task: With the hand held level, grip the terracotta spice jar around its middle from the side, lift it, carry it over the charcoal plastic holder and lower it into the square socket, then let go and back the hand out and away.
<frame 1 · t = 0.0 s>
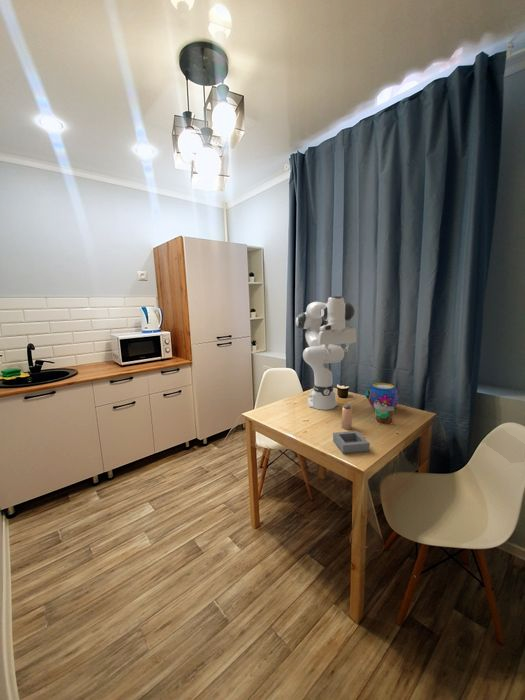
hand: (337, 352, 146), 39 cm above the table, tool pointing down, fingers open, 8 cm apart
food container: (380, 421, 150), on the table
ceramic pot: (382, 409, 167), on the table
holder: (350, 445, 126), on the table
spice jar: (346, 427, 144), on the table
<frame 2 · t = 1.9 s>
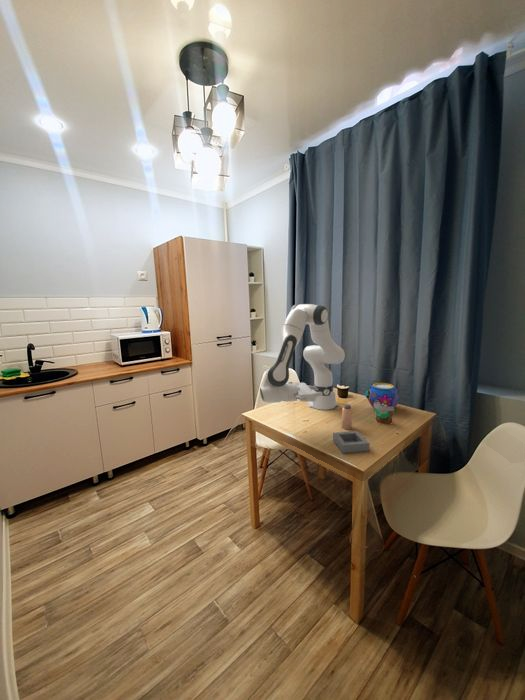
hand: (319, 390, 139), 21 cm above the table, tool horizontal, fingers open, 8 cm apart
nothing on the table moved.
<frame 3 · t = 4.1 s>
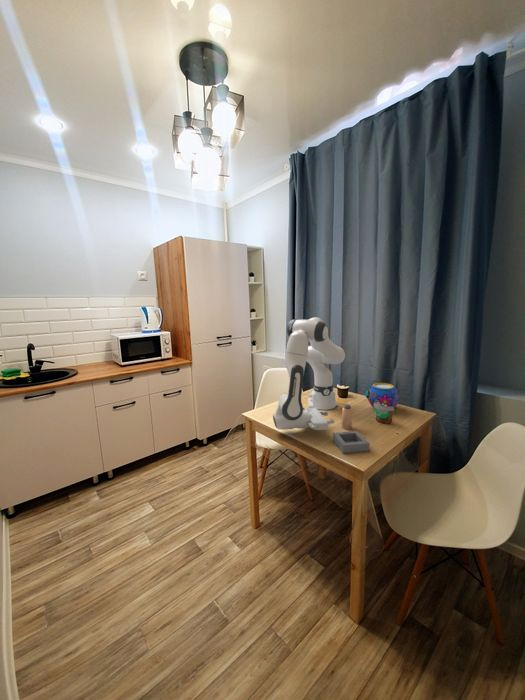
hand: (330, 417, 142), 7 cm above the table, tool horizontal, fingers open, 8 cm apart
nothing on the table moved.
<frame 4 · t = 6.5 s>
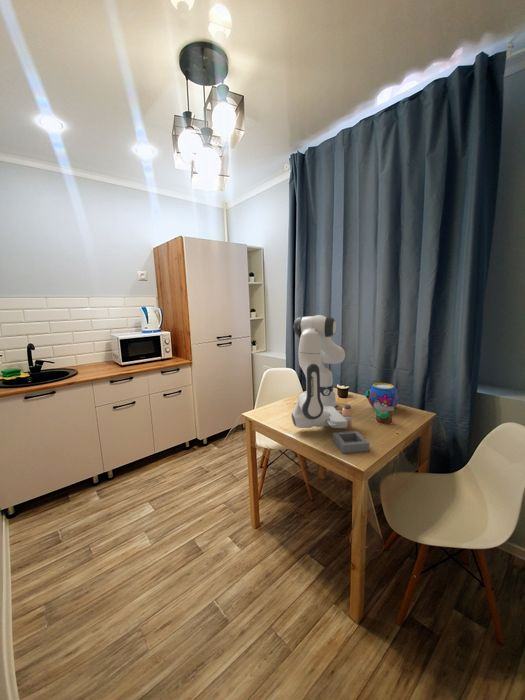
hand: (348, 415, 143), 7 cm above the table, tool horizontal, fingers closed on spice jar, 5 cm apart
spice jar: (346, 427, 144), on the table, touching gripper
everything else where it was.
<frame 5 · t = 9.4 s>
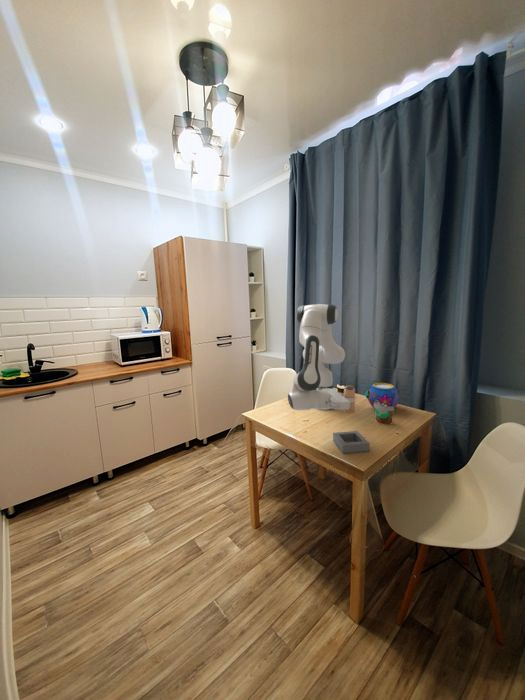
hand: (351, 397, 130), 21 cm above the table, tool horizontal, fingers closed on spice jar, 5 cm apart
spice jar: (348, 411, 131), point 14 cm above the table, touching gripper
everything else where it was.
when the fingers open (9 cm above the table, at t = 12.7 s): spice jar drops 1 cm, resting on holder.
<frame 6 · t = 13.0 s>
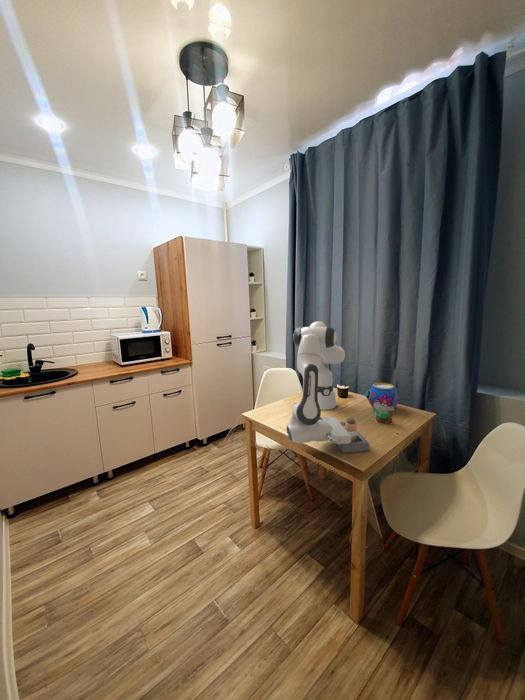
hand: (352, 428, 125), 9 cm above the table, tool horizontal, fingers open, 8 cm apart
spice jar: (350, 444, 126), point 1 cm above the table, touching holder
everything else where it was.
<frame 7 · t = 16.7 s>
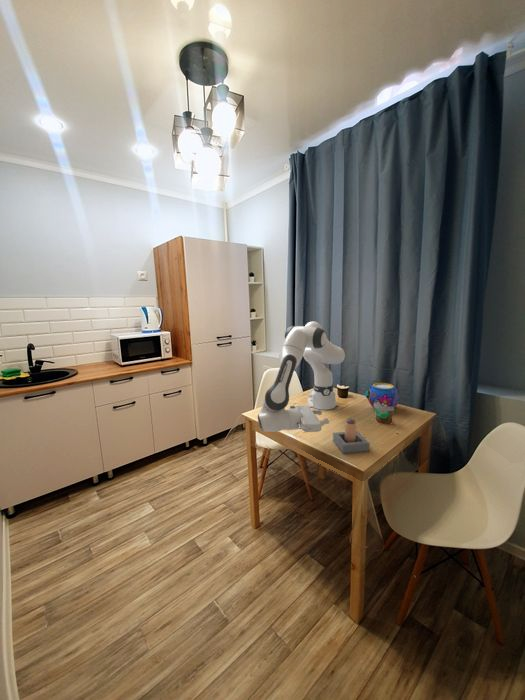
hand: (324, 416, 123), 15 cm above the table, tool horizontal, fingers open, 8 cm apart
nothing on the table moved.
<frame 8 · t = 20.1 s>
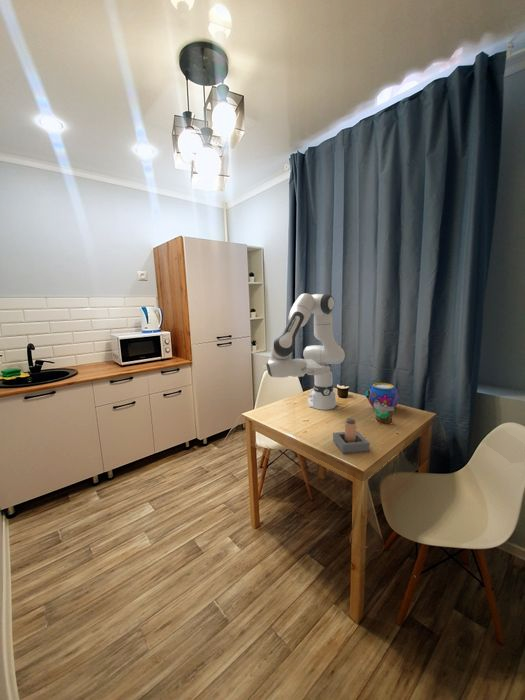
hand: (326, 365, 138), 34 cm above the table, tool horizontal, fingers open, 8 cm apart
nothing on the table moved.
at the end: spice jar 0.0 cm off-centre on the holder, point 0.5 cm above the holder's base; spice jar tilted 0°; the gripper is holding nothing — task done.
